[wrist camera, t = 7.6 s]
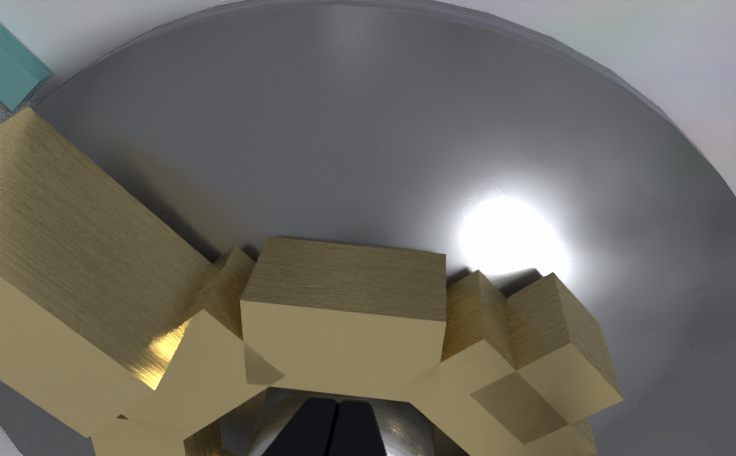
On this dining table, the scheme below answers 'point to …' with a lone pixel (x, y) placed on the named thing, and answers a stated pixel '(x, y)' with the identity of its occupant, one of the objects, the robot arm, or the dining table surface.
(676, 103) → the dining table surface
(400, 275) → the gold block ring
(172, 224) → the grey round shallow disc
